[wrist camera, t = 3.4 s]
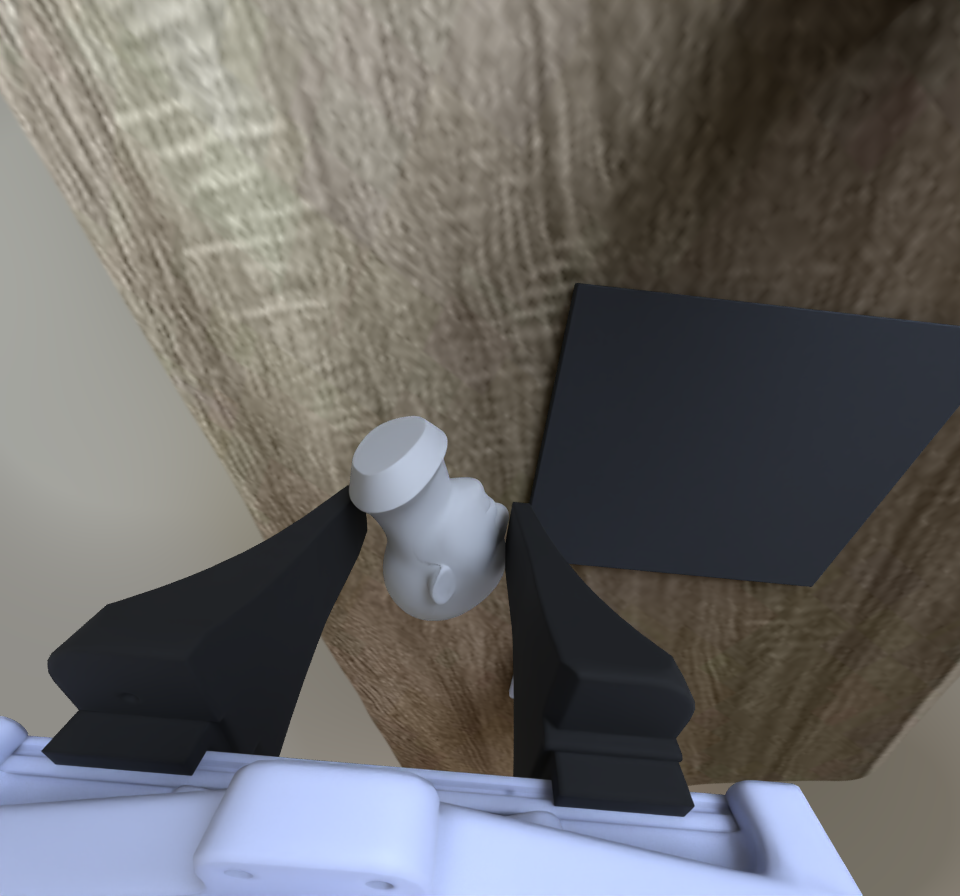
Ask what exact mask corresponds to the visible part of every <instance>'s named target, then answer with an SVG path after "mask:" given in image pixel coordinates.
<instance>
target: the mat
mask: <svg viewBox="0 0 960 896" xmlns="http://www.w3.org/2000/svg"><path fill="white" fill-rule="evenodd" d="M959 405H960V326H955V325H946V324H937V323H928V322H919V321H910V320H902V319H893V318H884V317H875V316H866V315H857V314H848V313H839V312H830V311H822V310H813V309H804V308H795V307H786V306H777V305H768V304H759V303H750V302H742V301H733V300H724V299H715V298H706V297H697V296H688V295H679V294H670V293H662V292H653V291H644V290H635V289H626V288H617V287H608V286H599V285H590V284H582V283H576V284H575V286H574V291H573V296H572V301H571V305H570V310H569V315H568V320H567V325H566V329H565V334H564V339H563V344H562V348H561V353H560V358H559V363H558V368H557V372H556V377H555V382H554V387H553V392H552V396H551V401H550V406H549V411H548V415H547V420H546V425H545V430H544V435H543V439H542V444H541V449H540V454H539V459H538V463H537V468H536V473H535V478H534V483H533V487H532V492H531V497H530V502H529V504H530V505H531V506H532V508H533V510H534V512H535V514H536V516H537V517H538V519H539V521H540V522H541V524H542V526H543V528H544V529H545V531H546V532H547V534H548V535H549V537H550V538H551V540H552V541H553V543H554V544H555V546H556V547H557V549H558V550H559V552H560V553H561V554H562V556H563V557H564V558H565V560H566V561H567V562H568V564H578V565H588V566H599V567H609V568H620V569H630V570H641V571H651V572H662V573H672V574H683V575H693V576H704V577H714V578H725V579H735V580H746V581H756V582H767V583H777V584H788V585H798V586H809V587H812V586H813V585H814V583H815V582H816V581H817V580H818V579H819V577H820V576H821V575H822V574H823V572H824V571H825V570H826V569H827V567H828V566H829V565H830V564H831V563H832V561H833V560H834V559H835V558H836V556H837V555H838V554H839V553H840V552H841V550H842V549H843V548H844V547H845V545H846V544H847V543H848V542H849V540H850V539H851V538H852V537H853V536H854V534H855V533H856V532H857V531H858V529H859V528H860V527H861V526H862V525H863V523H864V522H865V521H866V520H867V518H868V517H869V516H870V515H871V513H872V512H873V511H874V510H875V509H876V507H877V506H878V505H879V504H880V502H881V501H882V500H883V499H884V498H885V496H886V495H887V494H888V493H889V491H890V490H891V489H892V488H893V486H894V485H895V484H896V483H897V482H898V480H899V479H900V478H901V477H902V475H903V474H904V473H905V472H906V471H907V469H908V468H909V467H910V466H911V464H912V463H913V462H914V461H915V459H916V458H917V457H918V456H919V455H920V453H921V452H922V451H923V450H924V448H925V447H926V446H927V445H928V444H929V442H930V441H931V440H932V439H933V437H934V436H935V435H936V434H937V432H938V431H939V430H940V429H941V428H942V426H943V425H944V424H945V423H946V421H947V420H948V419H949V418H950V416H951V415H952V414H953V413H954V412H955V410H956V409H957V408H958V407H959Z"/></svg>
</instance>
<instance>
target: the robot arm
mask: <svg viewBox="0 0 960 896" xmlns="http://www.w3.org/2000/svg"><path fill="white" fill-rule="evenodd" d="M366 533H367V517H366V512H363V511H361V510H360V509H358V508H357V507H356V506H355V505H354V504H353V502H352V501H351V499H350V496H349V486H346V487H345V488H343V489H342V490H340V491H339V492H338V493H336V494H335V495H334V496H332V497H331V498H329V499H328V500H327V501H325V502H324V503H323V504H321V505H320V506H318V507H317V508H316V509H314V510H313V511H311V512H310V513H308V514H307V515H306V516H304V517H303V518H301V519H300V520H298V521H296V522H295V523H293V524H292V525H290V526H289V527H287V528H285V529H284V530H282V531H281V532H279V533H278V534H276V535H274V536H273V537H271V538H269V539H267V540H266V541H264V542H262V543H260V544H258V545H256V546H254V547H253V548H251V549H249V550H247V551H245V552H243V553H241V554H239V555H237V556H234V557H232V558H230V559H228V560H226V561H224V562H221V563H219V564H217V565H215V566H213V567H211V568H208V569H206V570H204V571H201V572H199V573H196V574H194V575H192V576H189V577H187V578H184V579H181V580H178V581H176V582H173V583H171V584H168V585H165V586H163V587H160V588H157V589H154V590H151V591H148V592H145V593H142V594H139V595H136V596H133V597H130V598H127V599H123V600H121V601H118V602H114V603H111V604H108V605H106V606H105V607H104V608H103V609H101V610H100V611H99V612H98V613H97V614H96V615H95V616H94V617H92V618H91V619H90V620H89V621H88V622H87V623H86V624H84V626H82V627H81V628H80V629H79V630H78V631H77V632H75V633H74V634H73V635H72V636H71V637H70V638H69V639H68V640H66V641H65V642H64V643H63V644H62V645H61V646H59V647H58V648H57V649H56V650H55V651H54V652H53V653H52V654H51V655H50V657H49V659H48V672H49V674H50V676H51V677H52V679H53V681H54V682H55V683H56V684H57V685H58V687H59V688H60V689H61V690H62V691H63V692H64V693H65V695H66V696H67V697H68V698H69V699H70V700H71V701H72V703H73V704H74V705H75V706H76V707H77V708H78V710H79V711H78V712H77V713H76V714H75V715H74V716H73V717H72V718H71V719H70V720H69V721H68V723H67V724H66V725H65V726H64V727H63V728H62V729H61V730H60V731H59V732H58V733H57V734H56V735H55V736H54V738H50V737H38V736H28V732H27V731H26V729H25V728H24V727H23V726H22V725H21V724H19V723H18V722H16V721H15V720H13V719H10V718H7V717H4V716H0V896H863V895H862V893H861V892H860V890H859V888H858V887H857V885H856V883H855V881H854V880H853V878H852V876H851V875H850V873H849V872H848V870H847V868H846V866H845V865H844V863H843V861H842V859H841V858H840V856H839V854H838V853H837V851H836V849H835V848H834V846H833V844H832V843H831V841H830V839H829V837H828V836H827V834H826V832H825V830H824V829H823V827H822V825H821V824H820V822H819V820H818V819H817V817H816V815H815V813H814V812H813V810H812V809H811V807H810V805H809V804H808V802H807V800H806V798H805V797H804V795H803V793H802V792H801V790H800V788H799V787H798V786H796V785H795V784H792V783H781V782H769V781H757V780H744V781H740V782H737V783H735V784H733V785H732V786H731V787H730V788H729V789H728V791H727V792H726V794H725V795H720V794H708V793H697V792H689V789H688V786H687V784H686V781H685V778H684V776H683V773H682V770H681V768H680V765H679V762H681V761H682V753H681V750H680V748H679V745H678V743H677V740H676V738H677V736H678V735H679V734H680V732H681V731H682V730H683V728H684V727H685V726H686V725H687V723H688V722H689V721H690V719H691V717H692V715H693V713H694V710H695V701H694V699H693V697H692V694H691V692H690V690H689V688H688V686H687V683H686V681H685V679H684V677H683V675H682V673H681V671H680V670H679V668H678V666H677V664H676V663H675V661H674V659H673V657H672V656H671V655H669V654H668V653H667V652H665V651H664V650H663V649H661V648H660V647H659V646H657V645H656V644H654V643H653V642H652V641H650V640H649V639H648V638H646V637H645V636H643V635H642V634H641V633H639V632H638V631H637V630H636V629H634V628H633V627H632V626H631V625H630V624H628V623H627V622H626V621H625V620H624V619H622V618H621V617H620V616H619V615H618V614H617V613H615V612H614V611H613V610H612V609H611V608H610V607H609V606H608V605H607V604H606V603H605V602H603V601H602V600H601V599H600V598H599V597H598V596H597V595H596V594H595V593H594V592H593V591H592V590H591V589H590V588H589V587H588V586H587V585H586V584H585V582H584V581H583V580H582V579H581V578H580V577H579V576H578V575H577V573H576V572H575V571H574V570H573V569H572V567H571V566H570V565H569V564H568V562H567V561H566V560H565V558H564V557H563V556H562V554H561V553H560V552H559V550H558V549H557V547H556V546H555V544H554V543H553V541H552V540H551V538H550V537H549V535H548V534H547V532H546V531H545V529H544V528H543V526H542V524H541V522H540V521H539V519H538V517H537V516H536V514H535V512H534V510H533V508H532V506H531V505H530V504H529V503H519V502H513V504H512V509H511V515H510V520H509V526H508V532H507V537H506V543H505V571H506V580H507V589H508V598H509V606H510V615H511V624H512V636H513V678H512V681H511V685H510V689H509V696H510V697H511V698H513V699H514V769H513V777H509V776H497V775H485V774H473V773H462V772H450V771H438V770H426V769H415V768H403V767H391V766H379V765H367V764H356V763H343V762H332V761H320V760H308V759H297V758H285V757H279V755H280V752H281V749H282V746H283V742H284V739H285V736H286V733H287V730H288V727H289V724H290V720H291V717H292V714H293V711H294V708H295V706H296V703H297V700H298V697H299V694H300V691H301V688H302V685H303V682H304V679H305V676H306V674H307V671H308V668H309V666H310V663H311V660H312V657H313V654H314V652H315V649H316V646H317V644H318V641H319V639H320V636H321V633H322V631H323V628H324V626H325V623H326V621H327V619H328V616H329V614H330V612H331V610H332V608H333V606H334V604H335V602H336V600H337V598H338V596H339V594H340V592H341V590H342V588H343V586H344V584H345V582H346V580H347V578H348V576H349V574H350V572H351V570H352V568H353V566H354V564H355V562H356V560H357V558H358V556H359V553H360V550H361V548H362V545H363V542H364V539H365V536H366Z"/></svg>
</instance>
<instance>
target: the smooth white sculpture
mask: <svg viewBox="0 0 960 896" xmlns="http://www.w3.org/2000/svg"><path fill="white" fill-rule="evenodd" d="M446 450H447V437H446V435H445V433H444V432H443V431H442V430H440V429H439V428H437V427H436V426H434V425H433V424H431V423H430V422H428V421H427V420H425V419H424V418H422V417H419V416H407V417H401V418H397V419H393V420H390V421H388V422H385V423H383V424H381V425H379V426H378V427H376V428H375V429H373V430H372V431H371V432H370V433H369V434H368V435H367V436H366V437H365V438H364V439H363V440H362V442H361V443H360V445H359V446H358V448H357V450H356V451H355V453H354V456H353V459H352V468H351V476H350V485H349V496H350V499H351V501H352V502H353V504H354V505H355V506H356V507H357V508H358V509H360V510H361V511H363V512H366V513H368V514H370V515H371V516H372V517H373V518H374V519H375V520H376V521H377V522H378V523H379V524H380V526H381V527H382V529H383V530H384V532H385V534H386V536H387V546H386V550H385V554H384V560H383V575H384V581H385V585H386V588H387V590H388V592H389V594H390V596H391V598H392V599H393V600H394V602H395V603H396V604H397V605H398V606H399V607H400V608H401V609H402V610H403V611H405V612H406V613H408V614H409V615H411V616H413V617H416V618H418V619H422V620H429V621H440V620H447V619H451V618H454V617H457V616H459V615H461V614H463V613H465V612H467V611H469V610H470V609H472V608H473V607H475V606H476V605H478V604H479V603H480V602H481V601H483V600H484V599H485V598H486V597H487V596H488V595H489V594H490V593H491V592H492V591H493V590H494V588H495V587H496V586H497V584H498V583H499V581H500V579H501V577H502V575H503V573H504V570H505V539H504V536H505V533H506V529H507V524H508V520H509V513H508V510H507V508H506V507H505V506H504V505H502V504H500V503H495V502H494V501H493V499H492V498H490V497H489V496H488V495H487V494H486V493H485V492H484V488H483V485H482V484H481V482H480V481H479V480H477V479H475V478H470V477H462V478H449V475H448V471H447V468H446V465H445V462H444V459H443V458H444V456H445V453H446Z"/></svg>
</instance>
